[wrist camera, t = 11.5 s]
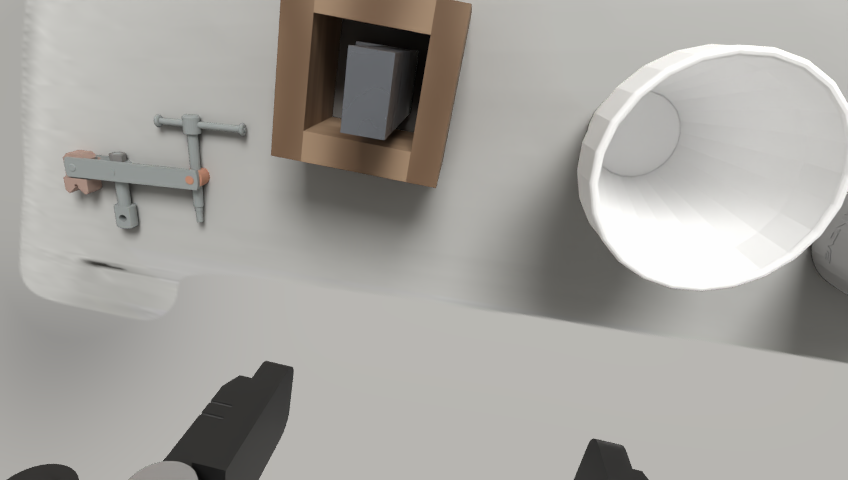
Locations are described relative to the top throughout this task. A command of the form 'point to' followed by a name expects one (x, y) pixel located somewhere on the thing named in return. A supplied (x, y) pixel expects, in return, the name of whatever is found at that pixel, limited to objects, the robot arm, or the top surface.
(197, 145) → the clamp
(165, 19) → the top surface
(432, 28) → the well block
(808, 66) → the cup
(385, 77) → the grey upright bar
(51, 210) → the top surface
